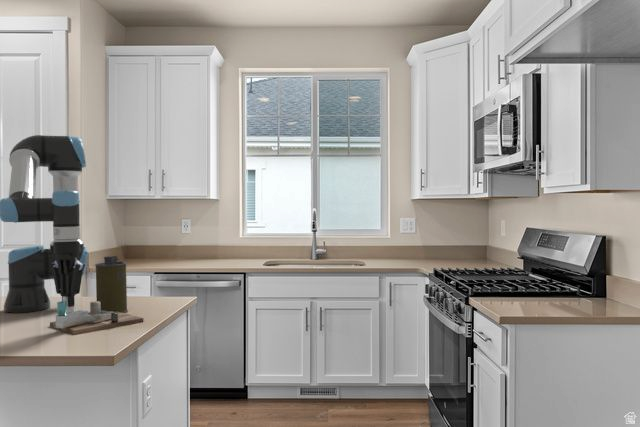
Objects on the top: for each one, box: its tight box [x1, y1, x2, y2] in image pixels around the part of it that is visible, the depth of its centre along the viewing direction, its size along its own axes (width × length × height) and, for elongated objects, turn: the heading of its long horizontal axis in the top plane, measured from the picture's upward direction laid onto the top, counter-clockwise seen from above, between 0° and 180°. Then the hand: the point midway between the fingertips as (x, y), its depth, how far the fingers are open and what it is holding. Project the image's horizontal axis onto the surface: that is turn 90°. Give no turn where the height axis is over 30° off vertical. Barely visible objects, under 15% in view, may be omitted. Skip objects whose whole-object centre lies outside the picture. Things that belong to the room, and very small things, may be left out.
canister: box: [95, 255, 129, 314], centre depth 189 cm, size 11×10×20 cm
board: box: [49, 300, 145, 335], centre depth 169 cm, size 18×22×7 cm
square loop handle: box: [55, 300, 115, 329], centre depth 165 cm, size 17×8×8 cm, turn 153°
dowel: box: [111, 313, 118, 323], centre depth 166 cm, size 2×2×4 cm
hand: (68, 317), depth 164 cm, fingers closed
